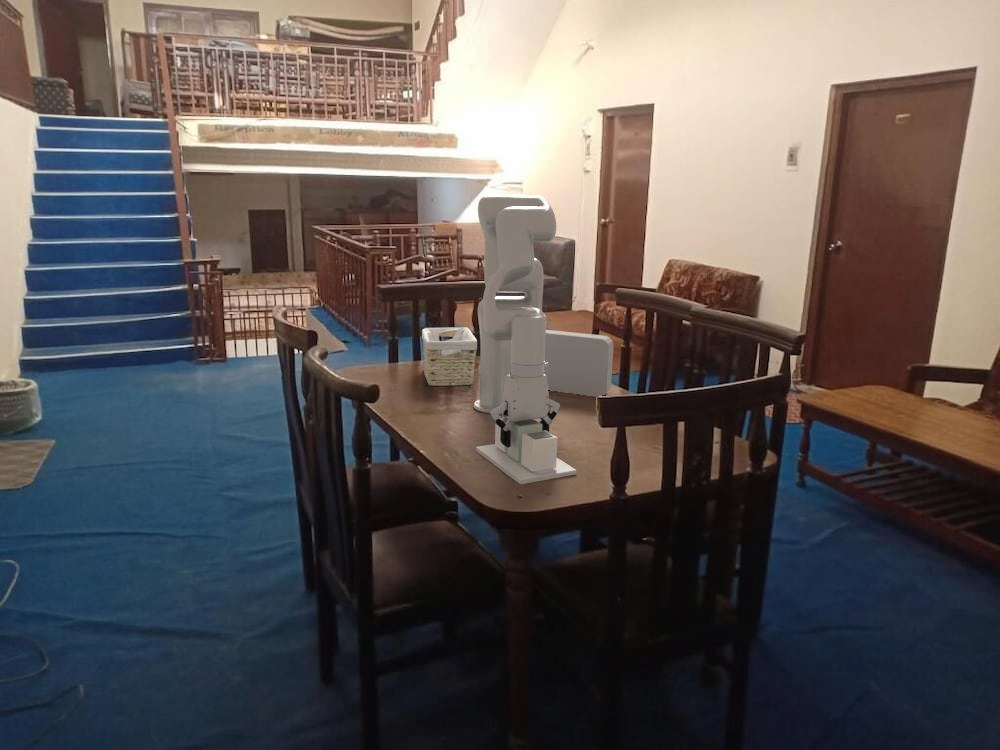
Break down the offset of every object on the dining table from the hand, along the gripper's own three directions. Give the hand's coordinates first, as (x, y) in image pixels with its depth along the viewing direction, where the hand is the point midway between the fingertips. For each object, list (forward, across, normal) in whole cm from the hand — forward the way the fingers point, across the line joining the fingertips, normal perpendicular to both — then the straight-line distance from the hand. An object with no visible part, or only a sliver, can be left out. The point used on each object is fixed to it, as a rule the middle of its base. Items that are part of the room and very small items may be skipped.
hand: (524, 442), depth 166 cm
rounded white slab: (+5, -40, -48) cm, 63 cm away
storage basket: (+5, -14, -76) cm, 77 cm away
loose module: (+3, 0, 0) cm, 3 cm away
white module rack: (+5, 0, 0) cm, 5 cm away
